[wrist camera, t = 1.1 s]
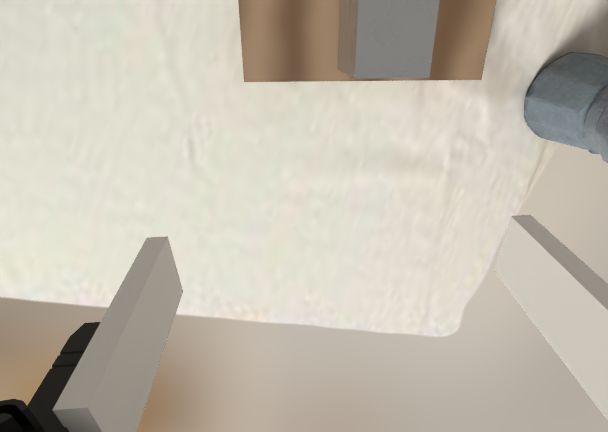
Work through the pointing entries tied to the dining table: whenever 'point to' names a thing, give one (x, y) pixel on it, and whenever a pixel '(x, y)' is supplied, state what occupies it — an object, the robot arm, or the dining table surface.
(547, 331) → the robot arm
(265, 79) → the body
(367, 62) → the grey rectangular block
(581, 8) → the dining table surface
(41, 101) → the dining table surface
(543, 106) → the moka pot
